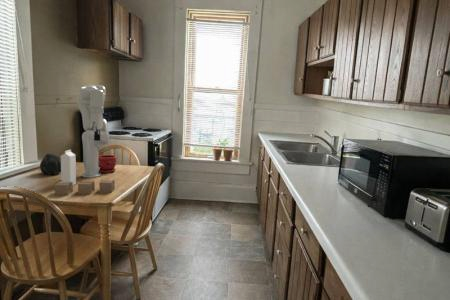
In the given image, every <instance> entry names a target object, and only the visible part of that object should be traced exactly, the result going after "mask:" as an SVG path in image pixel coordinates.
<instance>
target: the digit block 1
mask: <svg viewBox="0 0 450 300" xmlns="http://www.w3.org/2000/svg"><path fill="white" fill-rule="evenodd" d="M73 192H74V185H73V182H61V181H59V182H57V183H55V184H54V195H55V196H69V195H71V193H73Z"/></svg>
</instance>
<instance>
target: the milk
mask: <svg viewBox="0 0 450 300" xmlns="http://www.w3.org/2000/svg"><path fill="white" fill-rule="evenodd" d="M60 159H61V172H60V178H61V181H60V182H73V186H74V185H76V184H77V171H76V168H77V167H76V165H77V163H76V154H75V153H74V152H72V149H67V150H65V151H64V153H63V154H61V155H60Z"/></svg>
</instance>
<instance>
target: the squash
mask: <svg viewBox="0 0 450 300" xmlns="http://www.w3.org/2000/svg"><path fill="white" fill-rule="evenodd" d="M39 164H40V165H39V170H40V172H42V174H43V175H49V176H53V175H58V174H61V157H59V156H57V155H54V154H51V153H46V154H45V156H44V157H43V158H42V160H41V161H40V163H39Z"/></svg>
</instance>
